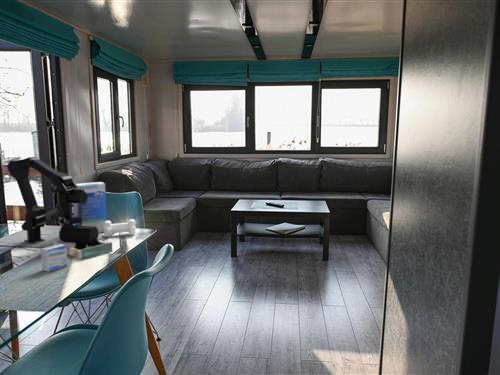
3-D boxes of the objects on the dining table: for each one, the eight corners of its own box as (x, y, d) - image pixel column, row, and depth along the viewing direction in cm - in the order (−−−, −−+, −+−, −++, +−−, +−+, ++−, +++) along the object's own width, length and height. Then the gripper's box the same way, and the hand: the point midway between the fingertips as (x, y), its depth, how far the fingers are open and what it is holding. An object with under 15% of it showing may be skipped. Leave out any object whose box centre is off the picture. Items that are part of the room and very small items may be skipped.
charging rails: (53, 248, 173) (52, 239, 173) (82, 241, 185) (82, 233, 184) (82, 259, 159) (82, 250, 159) (112, 251, 171) (112, 242, 170)
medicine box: (48, 272, 145) (46, 250, 144) (41, 270, 147) (40, 248, 146) (67, 266, 151) (66, 245, 150) (61, 264, 154) (59, 243, 152)
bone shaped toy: (135, 233, 202) (134, 218, 202) (135, 236, 194) (135, 220, 194) (104, 235, 198) (104, 219, 197) (104, 238, 190) (103, 222, 189)
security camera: (96, 252, 169) (95, 230, 167) (58, 249, 172) (57, 227, 170) (105, 247, 176) (104, 226, 174) (68, 244, 179) (66, 224, 177)
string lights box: (104, 229, 207) (102, 181, 204) (107, 232, 201) (105, 183, 197) (77, 232, 200) (75, 183, 196) (80, 235, 194) (78, 185, 190)
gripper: (36, 202, 176) (38, 235, 178) (57, 208, 165) (59, 243, 167) (60, 199, 185) (62, 230, 187) (82, 204, 174) (83, 237, 176)
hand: (66, 235), depth 179 cm, fingers closed
